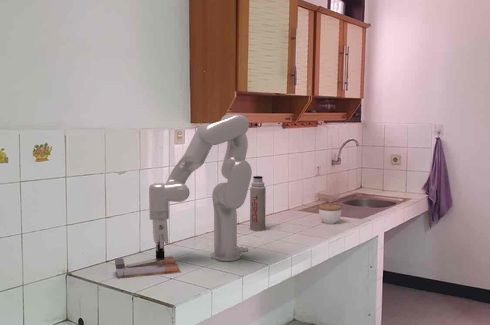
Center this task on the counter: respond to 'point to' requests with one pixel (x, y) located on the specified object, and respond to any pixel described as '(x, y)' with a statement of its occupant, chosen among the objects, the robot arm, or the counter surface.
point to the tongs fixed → (147, 270)
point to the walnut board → (150, 274)
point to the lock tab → (119, 263)
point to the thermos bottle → (257, 204)
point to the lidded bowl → (330, 213)
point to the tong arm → (153, 262)
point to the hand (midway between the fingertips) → (160, 260)
